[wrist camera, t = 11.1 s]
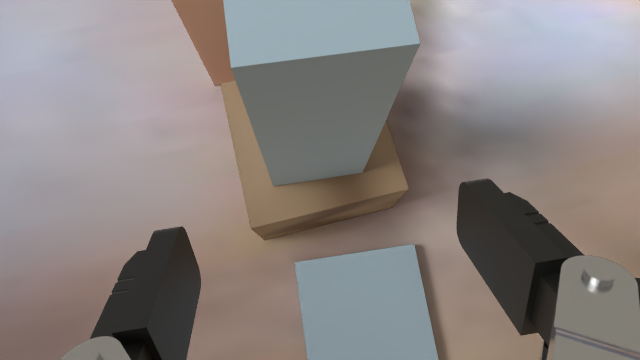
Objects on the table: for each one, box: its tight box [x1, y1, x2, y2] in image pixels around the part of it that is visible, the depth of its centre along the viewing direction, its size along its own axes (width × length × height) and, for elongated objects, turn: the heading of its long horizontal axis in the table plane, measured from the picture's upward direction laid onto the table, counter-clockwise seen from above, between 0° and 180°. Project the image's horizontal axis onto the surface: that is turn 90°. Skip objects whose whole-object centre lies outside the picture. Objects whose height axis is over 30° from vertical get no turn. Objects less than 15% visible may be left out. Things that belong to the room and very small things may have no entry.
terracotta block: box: [172, 0, 235, 86], centre depth 23 cm, size 4×4×9 cm
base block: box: [221, 81, 409, 240], centre depth 23 cm, size 8×8×5 cm
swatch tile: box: [295, 244, 439, 360], centre depth 23 cm, size 7×7×1 cm
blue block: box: [223, 0, 420, 186], centre depth 15 cm, size 4×4×11 cm
